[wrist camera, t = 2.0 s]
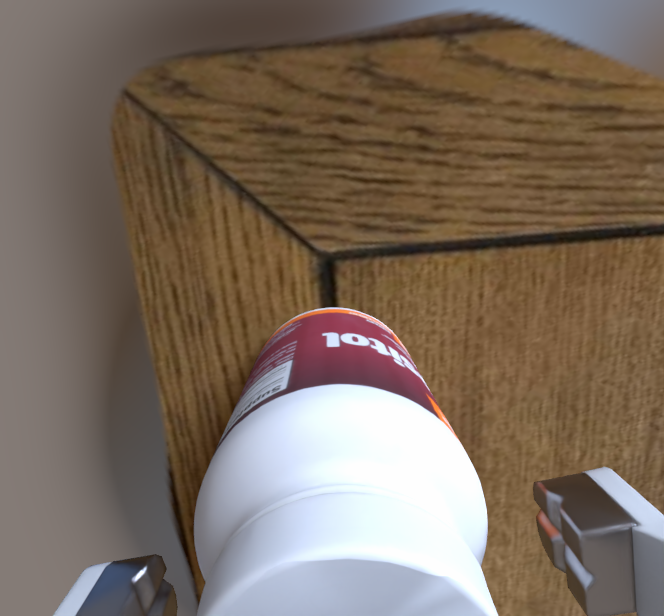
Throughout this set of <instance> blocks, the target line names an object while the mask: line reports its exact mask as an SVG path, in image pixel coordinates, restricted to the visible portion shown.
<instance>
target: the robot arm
mask: <svg viewBox="0 0 664 616" xmlns="http://www.w3.org/2000/svg"><path fill="white" fill-rule="evenodd" d="M533 495H534V500H535V501H536V503H537V504H538V505H539V507H540V508H541V509H540V511H539V513H538V515H537V516H536V521H537V527H538V532H539V536H540V539H541V542H542V545H543V547H544V549H545V551H546V553H547V555H548V557H549V559H550V560H551V562H552V563H553V565H554V566H555V567H556V568H557V569H559V570H561V571H563V572H564V573H566V576H567V585H568V588H569V589H570V591H571V592H572V594H573V596H574V597H575V599H576V600H577V602H578V603H579V605H580V606H581V608H582V609H583V611H584V612H585V614H586V615H587V616H611V615H618V614H625V613H631V612H637V615H638V616H664V515H663V514H662V513H660V512H659V511H658V510H657V509H656V508H655V507H654V506H652V505H651V504H650V503H649V502H648V501H647V500H646V499H645V498H643V497H642V496H641V495H640V494H639V493H638V492H637V491H635V490H634V489H633V488H632V487H631V486H630V485H629V484H627V483H626V482H625V481H624V480H623V479H622V478H621V477H619V476H618V475H617V474H616V473H615V472H614V471H613V470H611V469H609V468H607V467H602V468H598V469H593V470H588V471H584V472H581V473H578V474H573V475H567V476H562V477H557V478H552V479H547V480H542V481H537V482H534V485H533ZM165 572H166V566H165V564H164V561H163V559H162V556H159V555H156V554H155V555H150V556H143V557H137V558H131V559H125V560H120V561H113V562H110V563H104V564H98V565H92V566H90V567H88V568H87V569H85V570H84V571H83V572H82V574H81V575H80V576H79V578H78V579H77V581H76V582H75V584H74V585H73V587H72V588H71V590H70V591H69V592H68V594H67V595H66V597H65V598H64V600H63V601H62V603H61V604H60V606H59V607H58V608H57V610H56V612H55V613H54V615H53V616H177V600H176V594H175V591H174V588H173V586H172V585H171V584H169V583H168V582H166V581H165V580H164V579H163V577H164V574H165Z"/></svg>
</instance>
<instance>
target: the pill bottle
mask: <svg viewBox="0 0 664 616" xmlns="http://www.w3.org/2000/svg"><path fill="white" fill-rule="evenodd" d="M487 526H488V523H487V510H486V504H485V499H484V495H483V491H482V487H481V483H480V480H479V478H478V476H477V473H476V471H475V469H474V467H473V465H472V463H471V461H470V459H469V457H468V455H467V453H466V451H465V450H464V448H463V446H462V444H461V443H460V441H459V439H458V438H457V436H456V435H455V433H454V431H453V429H452V428H451V426H450V424H449V423H448V421H447V419H446V417H445V416H444V414H443V413H442V411H441V409H440V408H439V406H438V404H437V402H436V400H435V399H434V397H433V395H432V394H431V392H430V390H429V389H428V387H427V385H426V383H425V382H424V380H423V378H422V376H421V375H420V373H419V372H418V370H417V368H416V366H415V364H414V362H413V360H412V359H411V357H410V355H409V354H408V352H407V350H406V348H405V347H404V345H403V344H402V343H401V341H400V340H399V339H398V337H397V336H396V335H395V334H394V333H393V332H392V331H391V330H390V329H389V328H388V327H387V326H386V325H384V324H383V323H382V322H380V321H379V320H377V319H375V318H374V317H372V316H369V315H367V314H364V313H362V312H359V311H355V310H351V309H346V308H322V309H316V310H312V311H308V312H305V313H303V314H300V315H298V316H296V317H294V318H292V319H291V320H289V321H288V322H286V323H285V324H283V325H282V326H281V327H280V328H279V329H278V330H277V331H276V332H275V333H274V334H273V335H272V336H271V337H270V338H269V340H268V341H267V342H266V344H265V345H264V347H263V348H262V350H261V351H260V353H259V355H258V357H257V359H256V362H255V364H254V366H253V369H252V371H251V373H250V375H249V377H248V380H247V382H246V384H245V386H244V389H243V391H242V393H241V396H240V398H239V400H238V402H237V404H236V406H235V409H234V411H233V413H232V416H231V418H230V420H229V422H228V424H227V427H226V429H225V431H224V433H223V435H222V437H221V440H220V442H219V444H218V446H217V448H216V450H215V453H214V455H213V457H212V460H211V462H210V464H209V467H208V470H207V472H206V474H205V476H204V479H203V482H202V485H201V488H200V491H199V494H198V498H197V503H196V509H195V517H194V541H195V549H196V554H197V559H198V564H199V567H200V570H201V573H202V575H203V578H204V580H205V582H206V583H205V586H204V589H203V593H202V596H201V600H200V604H199V607H198V611H197V615H196V616H498V614H497V612H496V609H495V607H494V604H493V601H492V599H491V596H490V593H489V591H488V588H487V585H486V582H485V578H484V575H483V572H482V570H481V564H482V560H483V557H484V553H485V548H486V542H487Z"/></svg>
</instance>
